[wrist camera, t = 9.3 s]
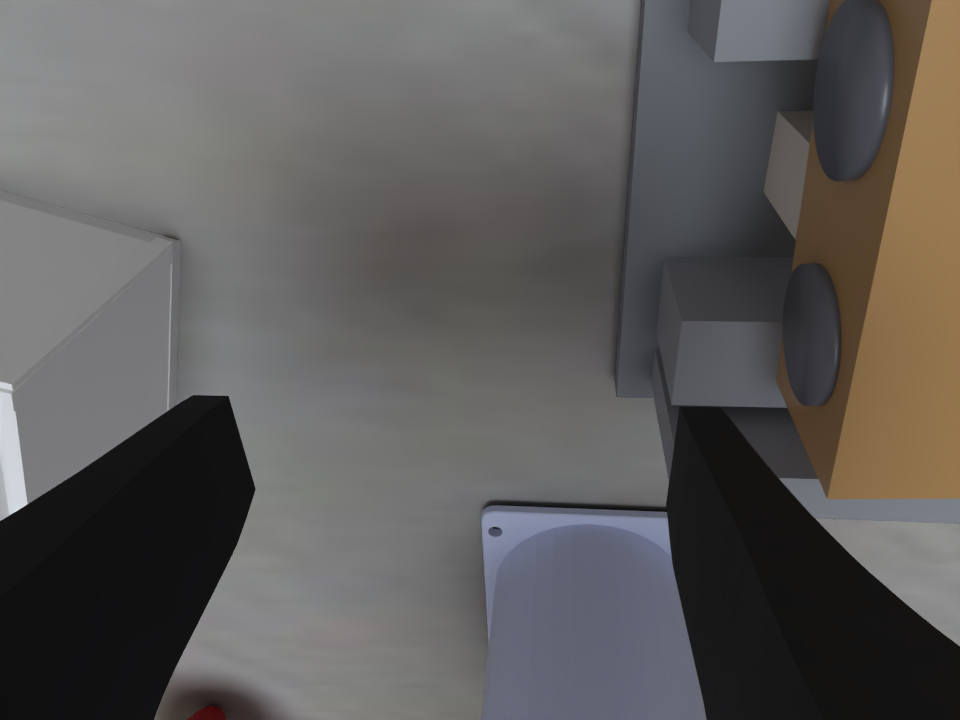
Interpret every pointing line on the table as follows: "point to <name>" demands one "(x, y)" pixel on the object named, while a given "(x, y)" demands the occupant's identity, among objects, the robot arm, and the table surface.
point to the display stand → (725, 227)
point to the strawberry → (209, 714)
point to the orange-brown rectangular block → (880, 257)
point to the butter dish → (79, 341)
